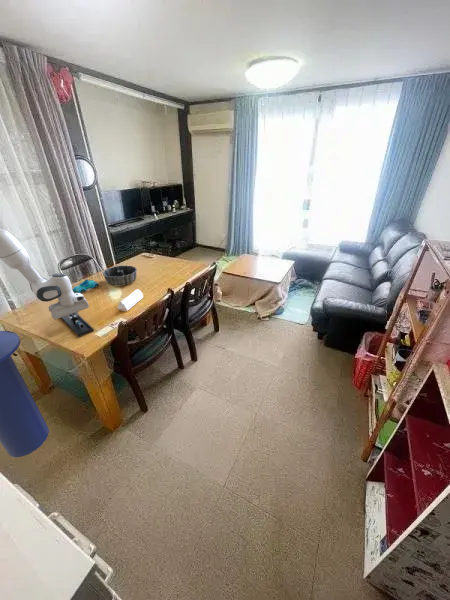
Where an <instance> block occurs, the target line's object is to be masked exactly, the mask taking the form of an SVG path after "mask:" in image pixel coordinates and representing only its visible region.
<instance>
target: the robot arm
mask: <svg viewBox="0 0 450 600" xmlns="http://www.w3.org/2000/svg"><path fill="white" fill-rule="evenodd" d="M0 260H1V261H2V262H3V263H4V264H5V265H6V266H8V267H9V268H10V269H14V270H17V271H18V272H19V273H20V274H21V275H22V276H23V277H24V278H25V280H27V281H28V284H29V287H30V291H32V293H33V294H34V295H35V297H36V298H37V299H38V300H39V301H41V302H44V303H45V302H46V303H48V302H52V301H54V300H56V299H57V302H55V303H52V304H50V305H49V306H48V309H47V310H48V311H49V312H50V315H51V318H52V319H53V320H59V319H62V317H64V316H67V317H68V318H69V319H70V321H71V320H72V319H73V318H72V317H69V315H70V314H73V313H75V315H74V318H76V317H77V315H79V312H81V311H84V310H86V309H88V308H89V307H90V304H89V302H88V300H87V299H86V297H85V295H84V294H83V293H82V292H81V293H77V292H73V290H72V289H73V284H72V282H71V280H70V278H69V276H68V275H67V274H66V273H60V272H59V273H58V272H57V273H54V274H53V273H52V275H50V277H49V278H48V279H47V278H45V277H43V276H41V275H40V273H39V272H38V271H37V270H36V269H35V268H34V266H33V265H32V263H31V257H30V255H29V253H28V251H27V250H26V249H25V247H24V246H23V245H22V243H21V242H19V240H18V239H17V238H16V237H15V236H14V235H13V234H11V233H10V232H9V231H8V230H6V229H2V228H0Z"/></svg>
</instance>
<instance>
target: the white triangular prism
mask: <svg viewBox="0 0 450 600" xmlns="http://www.w3.org/2000/svg"><path fill="white" fill-rule="evenodd" d="M143 298H144V294H143V292H142V291H141V290H140V289H139V288H136V289H135V290H134V291H132V292H131V293H130V294H129V295H128V296H126V297H125V298H124V299H122V300H121V301H119V303H118V305H117V307H116V308H117V310H118V311H120V312H128V311H129V310H130V309H132V308H133V307H135V305H136V304H137V303H139V302H140V301H141V300H142V299H143Z"/></svg>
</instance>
